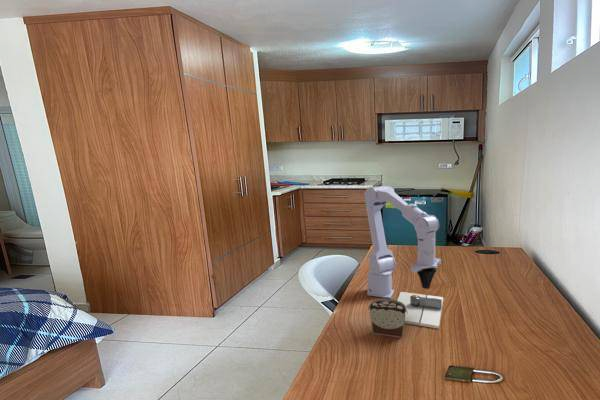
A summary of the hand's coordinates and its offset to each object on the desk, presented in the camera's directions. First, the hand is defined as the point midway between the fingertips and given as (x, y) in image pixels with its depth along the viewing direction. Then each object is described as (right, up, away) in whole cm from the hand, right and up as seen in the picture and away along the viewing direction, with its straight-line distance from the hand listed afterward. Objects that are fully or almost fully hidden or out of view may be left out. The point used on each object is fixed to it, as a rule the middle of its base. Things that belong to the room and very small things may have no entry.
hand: (425, 287), depth 127 cm
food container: (-15, -12, -9) cm, 22 cm away
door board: (-1, -9, +5) cm, 11 cm away
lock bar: (+2, -8, +5) cm, 9 cm away
